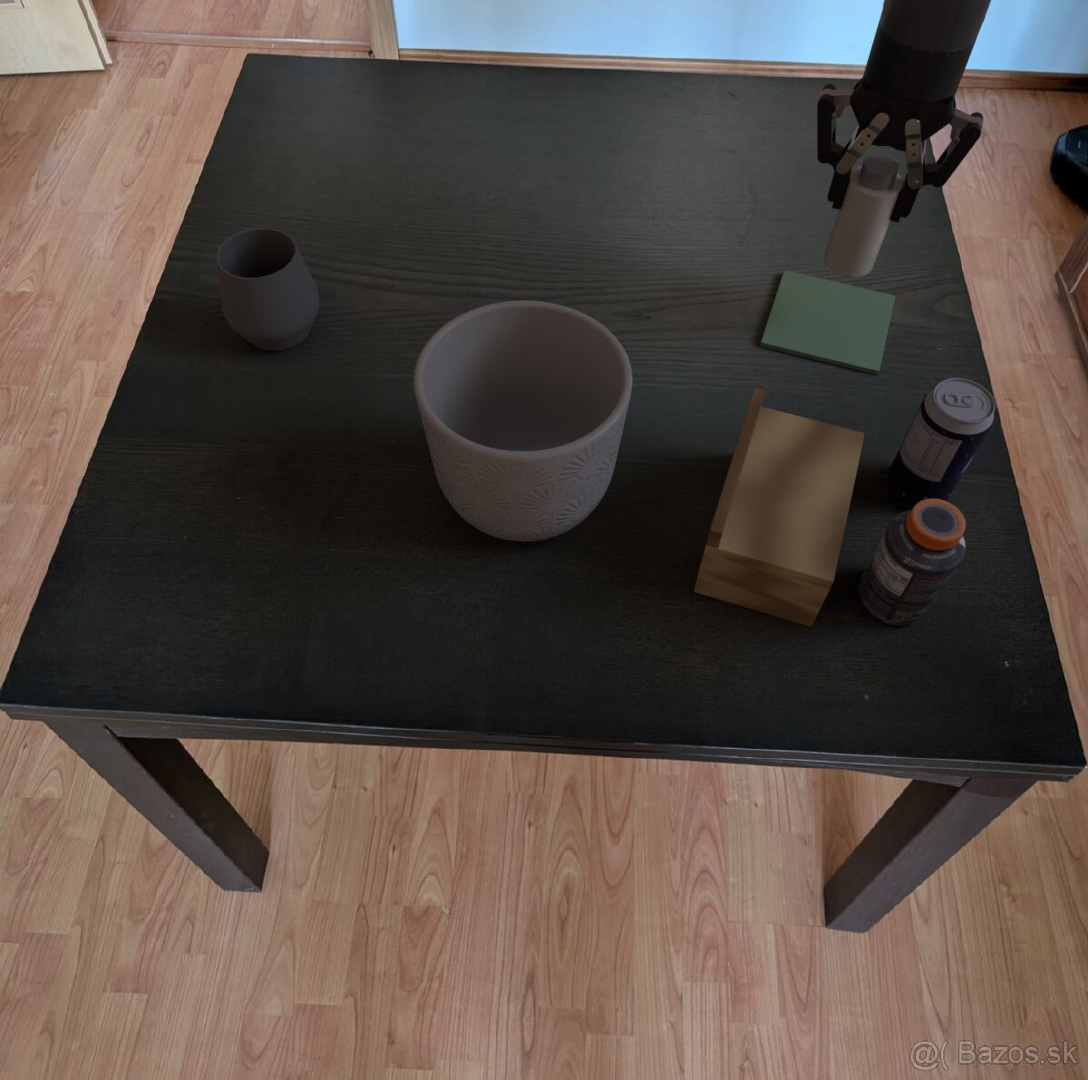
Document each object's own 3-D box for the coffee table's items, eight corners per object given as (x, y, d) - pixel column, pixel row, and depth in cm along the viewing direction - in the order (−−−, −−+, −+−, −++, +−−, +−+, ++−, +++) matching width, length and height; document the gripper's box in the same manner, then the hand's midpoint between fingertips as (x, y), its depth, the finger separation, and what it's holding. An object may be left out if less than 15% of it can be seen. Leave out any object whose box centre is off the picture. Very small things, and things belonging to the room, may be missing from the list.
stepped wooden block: (843, 483, 86) (872, 416, 78) (811, 627, 77) (840, 567, 70) (736, 454, 88) (754, 387, 80) (693, 592, 79) (709, 530, 72)
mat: (893, 299, 100) (895, 295, 100) (877, 375, 94) (879, 371, 93) (782, 274, 102) (784, 269, 102) (759, 346, 96) (760, 342, 95)
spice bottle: (877, 251, 92) (912, 155, 84) (870, 282, 90) (905, 185, 81) (828, 241, 93) (858, 144, 85) (820, 270, 91) (849, 174, 82)
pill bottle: (930, 576, 80) (982, 496, 71) (927, 635, 77) (981, 559, 67) (859, 561, 81) (901, 479, 72) (853, 618, 78) (896, 540, 68)
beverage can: (949, 519, 83) (1004, 429, 74) (884, 511, 84) (930, 421, 74) (944, 470, 87) (996, 378, 77) (881, 463, 87) (925, 370, 77)
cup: (345, 328, 97) (327, 248, 89) (276, 378, 93) (251, 300, 84) (283, 289, 100) (261, 209, 92) (214, 336, 96) (184, 256, 88)
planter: (639, 554, 81) (658, 438, 69) (445, 586, 79) (428, 473, 67) (594, 411, 91) (603, 286, 78) (420, 437, 88) (401, 313, 76)
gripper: (829, 28, 72) (781, 217, 86) (1022, 63, 69) (940, 252, 83) (845, -16, 76) (797, 172, 90) (1028, 15, 73) (949, 203, 87)
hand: (866, 209), depth 87 cm, fingers closed on spice bottle, 4 cm apart
